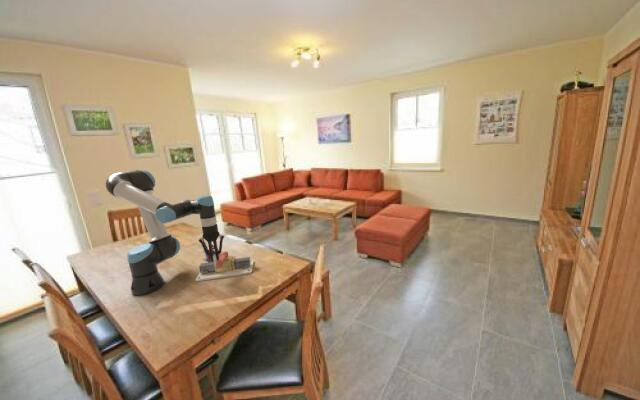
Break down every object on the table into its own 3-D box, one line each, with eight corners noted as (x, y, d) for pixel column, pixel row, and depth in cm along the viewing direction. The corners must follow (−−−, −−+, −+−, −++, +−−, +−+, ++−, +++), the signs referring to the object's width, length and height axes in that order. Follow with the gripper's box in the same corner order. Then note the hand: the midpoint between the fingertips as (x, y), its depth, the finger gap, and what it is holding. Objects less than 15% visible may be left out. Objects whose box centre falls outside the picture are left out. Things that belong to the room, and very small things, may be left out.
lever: (221, 255, 148) (220, 251, 148) (229, 254, 149) (228, 250, 148) (214, 268, 131) (213, 264, 131) (223, 267, 132) (222, 263, 132)
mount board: (195, 281, 138) (195, 279, 138) (203, 268, 153) (203, 266, 153) (251, 273, 143) (251, 271, 143) (253, 261, 158) (253, 259, 158)
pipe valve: (200, 277, 143) (197, 263, 141) (203, 271, 149) (201, 258, 148) (250, 270, 147) (248, 256, 145) (251, 265, 154) (249, 252, 152)
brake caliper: (217, 259, 156) (204, 246, 156) (208, 270, 159) (194, 257, 159) (227, 252, 167) (214, 239, 166) (218, 261, 170) (205, 249, 170)
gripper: (194, 228, 127) (202, 271, 132) (221, 224, 130) (228, 266, 135) (197, 224, 134) (204, 265, 139) (223, 221, 138) (229, 260, 142)
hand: (216, 265), depth 137 cm, fingers closed
